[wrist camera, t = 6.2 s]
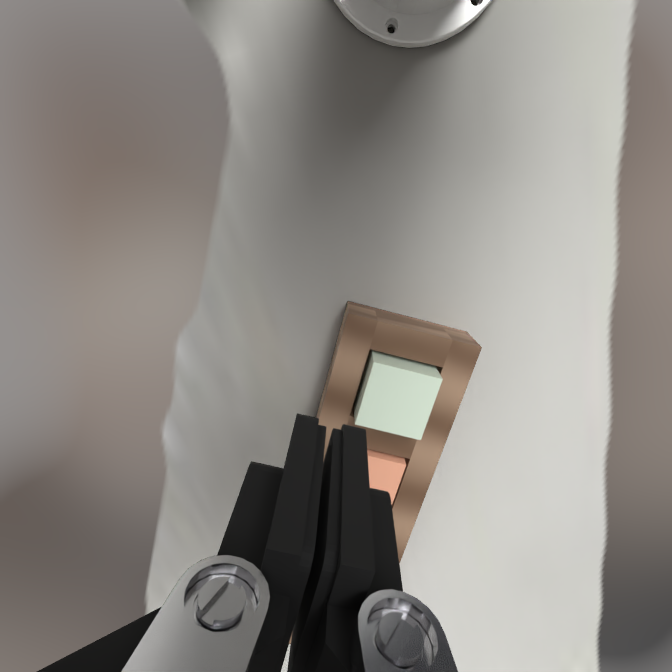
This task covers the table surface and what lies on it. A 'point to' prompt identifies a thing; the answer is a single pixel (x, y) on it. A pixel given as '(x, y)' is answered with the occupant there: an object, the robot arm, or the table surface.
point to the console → (455, 369)
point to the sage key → (396, 394)
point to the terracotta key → (385, 471)
